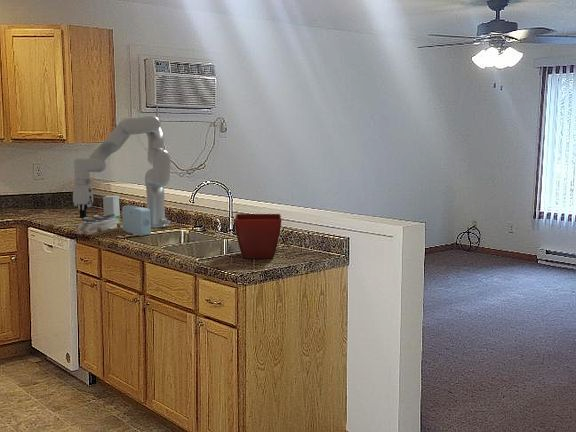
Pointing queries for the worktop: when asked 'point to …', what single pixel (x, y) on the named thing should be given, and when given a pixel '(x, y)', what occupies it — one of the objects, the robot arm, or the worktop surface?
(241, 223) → the plant pot
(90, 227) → the switch unit
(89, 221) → the block
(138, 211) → the light blue rectangular block
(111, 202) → the skincare box
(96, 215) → the rocker
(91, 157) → the robot arm
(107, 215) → the block
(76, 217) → the worktop surface
